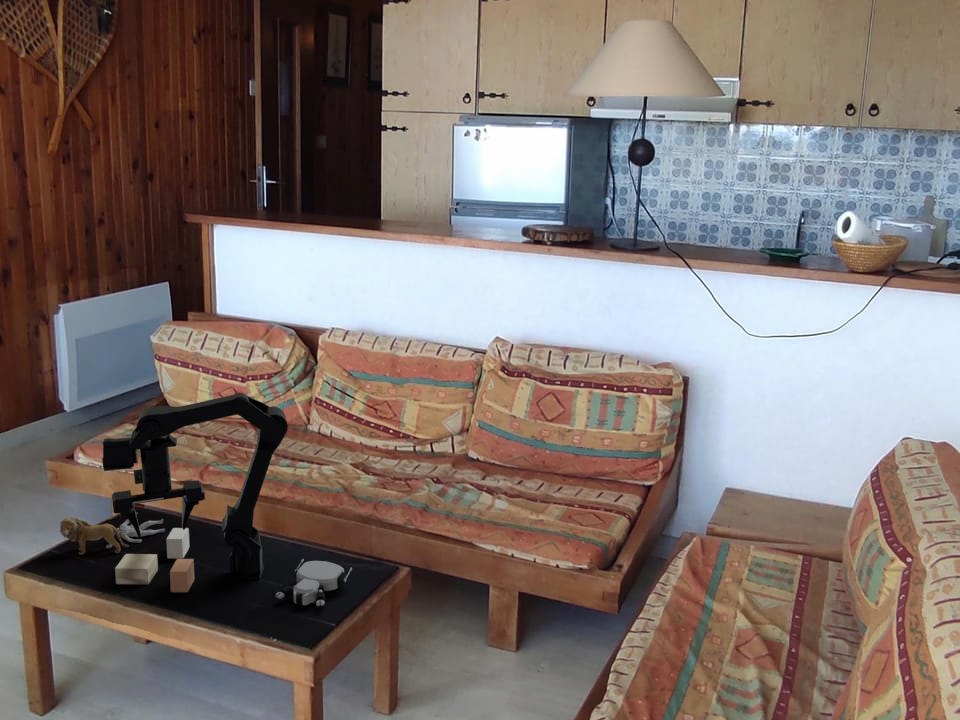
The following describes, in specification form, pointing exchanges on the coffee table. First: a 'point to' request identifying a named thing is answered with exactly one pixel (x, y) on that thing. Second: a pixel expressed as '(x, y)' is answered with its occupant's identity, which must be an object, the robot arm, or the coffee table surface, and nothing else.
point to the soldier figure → (130, 531)
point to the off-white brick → (177, 543)
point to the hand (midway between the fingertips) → (161, 532)
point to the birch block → (136, 569)
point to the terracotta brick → (182, 575)
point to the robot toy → (314, 582)
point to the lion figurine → (89, 533)
